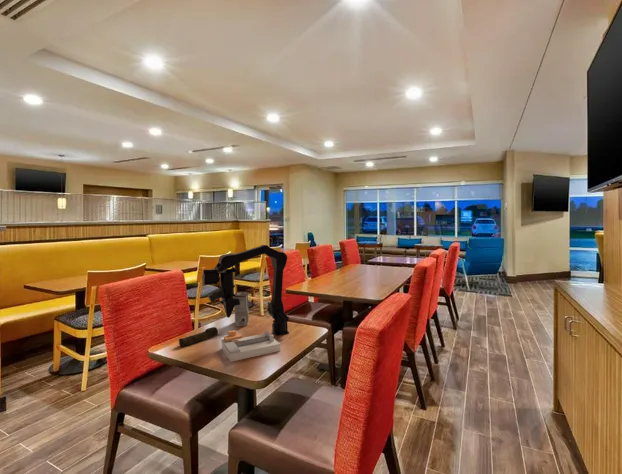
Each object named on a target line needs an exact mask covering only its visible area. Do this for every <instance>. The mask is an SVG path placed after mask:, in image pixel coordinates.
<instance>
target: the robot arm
mask: <svg viewBox="0 0 622 474" xmlns="http://www.w3.org/2000/svg"><path fill="white" fill-rule="evenodd" d="M262 255H266V256H267V257H268V258H270V259H271V264H272V265H271V266H272V268H273V277H272V295H271V296H272V297H271V299H270V302H269V301H268V302H267V309H266V311H267V312H268V315H270V316H271V318H272V319H273V320H272V324H271V327H272V329H271V332H272V334H273V335H274V336H275V335H276V336H282V335H287V334H290V331H289V330H288V322H289V319H290V317H289V316H288V315H287V314H286V313H285V307H284V303H283V300H282V299H283V297H282V296H283V284H284V283H283V281H284V279H283V278H284V270H285V267H286V265H287V261H288V255H287V254H286V253H285V252H283V251H280V250H277V249H274V248H273V247H270V246H269V245H266V244H261V245H260V246H256V247H252V248H249V249H246V250H243V251H239V252H235V253H225V254H222V255H220V256H219V258H218V262H217V264H216V265H215V266H214V268H211V269H207V268H205V269H202V276H201V281H202V282H201V283H202V285H203V286H209V285H210V286H211V285H212V286H213V285H217V284H218V283H219V285H218V288H217V289H214V290H212V291H211V292H208V293H207V297H208V300H209V301H210V303H213V302H215V301H217V300H219V299H220V300H219V303H220V304H221V305H222V306H223V309H224V313H225V316H226V318H231V315H232V314H233V312H234V310H235V305H240V300H239V299H238V298H236V297H235V294H236V293H235V288H236V285H235V284H234V273H238V272H239V271H238V269H236V268H235V266H236V265H238V264H239V263H242V262H243V261H246V260H250V259H252V258H256V257H259V256H262Z"/></svg>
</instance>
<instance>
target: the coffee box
mask: <svg viewBox="0 0 622 474" xmlns="http://www.w3.org/2000/svg"><path fill="white" fill-rule="evenodd" d="M234 294H235V297H236V298H238V299H239V300H240V305H235V306H234V326H235V327H242V326H243V327H246V326H248V324H249V321H250V320H249V319H250V315H249V292H248V291H236V292H235V293H234Z"/></svg>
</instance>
